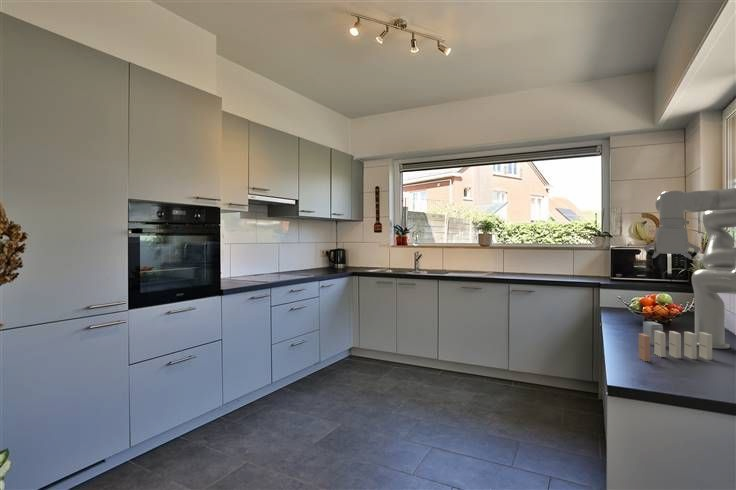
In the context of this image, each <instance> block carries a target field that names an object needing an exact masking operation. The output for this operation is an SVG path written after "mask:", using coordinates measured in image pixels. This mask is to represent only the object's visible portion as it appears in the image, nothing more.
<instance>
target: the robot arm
mask: <svg viewBox="0 0 736 490" xmlns="http://www.w3.org/2000/svg"><path fill="white" fill-rule="evenodd" d="M655 208H656V210H657V212H658V213H659V221H658V223H659V227H656V229H655V235H654V241H653V242H651V243H649V244H647V245H645V246H643V249H644V252H645V253H646V254H647V256H649V257H650V258H651V267H653V269H654V270H655V269H658V256H659V255H660V254H663V255H664V254H665V255H683V257H684V258H685V259H684V260H683V261H684V269H683V270H684V271H689V270H690V269H691V266H692V263H691V261H692V259H693V258H694V257H696V256H697V255H698V254H699V251H701V247H699V246H697V245H695V244H693V243H690V242H689V235H688V229H687V227H686V225H689V224H690V221H689V220H686V218H685V213H699V212H700V213H702V212H703V213H702V223H703V228H704V229H705V231H706V234H707V237H708V238H707V244H706V246H705V250H704V253H703V256H702V265H703V267H704V268H702V269H697V270H695V271H693V273H692V275H691V285H692V290H693V295H694V334H696V347H697V346H698V347H699V332H705V333H708V334H711V335H712V349H718V350H720V349H721V350H723V349H724V350H725V349H726V350H727V349H730V348H731V345H730V344H729V343H727V342H726V341H725V339H726V336H725V335H726V333H725V332H726V331H725V325H726V324H725V320H726V319H725V318H726V317H725V316H726V315H725V312H726V311H725V309H726V308H725V306H726V305H725V303H724V300H723V299H722V297H720V295H719V294H730V295H736V247H734V245H735V239H734V237H733V236H732V235H731V234H730V233H729V232H728V231H726V230H725V229H724V228H726V229H727V228H736V188H735V187H733V188H732V187H731V188H722V189H711V190H695V191H689V192H687V191H685V192H684V191H682V190H667V191H666V190H665V191H663V192H661V193H660V195H659V196H658V197H657V198H656V200H655ZM650 248H653V251H654V253H653V252H651V251H650ZM689 249H692V250H693V251H692V252H691V253H689Z"/></svg>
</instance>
